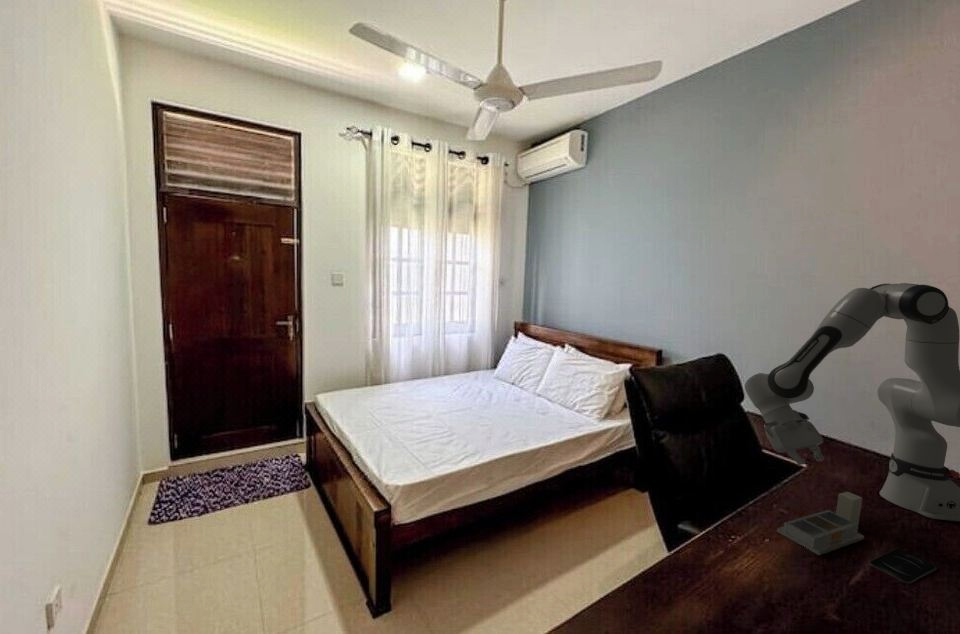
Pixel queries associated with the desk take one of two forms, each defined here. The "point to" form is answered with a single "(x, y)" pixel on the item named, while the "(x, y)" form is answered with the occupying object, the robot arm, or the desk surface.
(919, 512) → the robot arm
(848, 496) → the block
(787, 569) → the desk surface
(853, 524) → the rack
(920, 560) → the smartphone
